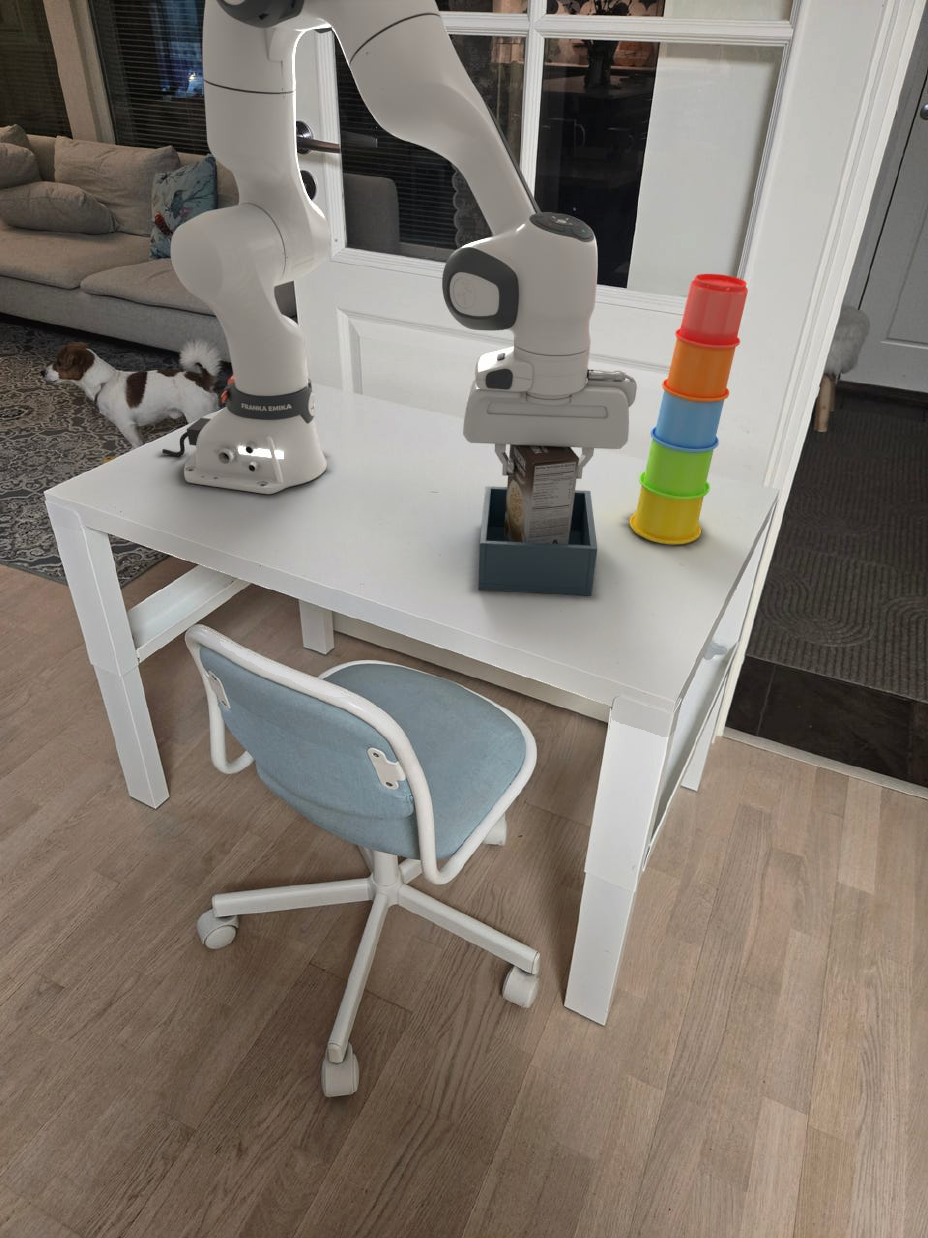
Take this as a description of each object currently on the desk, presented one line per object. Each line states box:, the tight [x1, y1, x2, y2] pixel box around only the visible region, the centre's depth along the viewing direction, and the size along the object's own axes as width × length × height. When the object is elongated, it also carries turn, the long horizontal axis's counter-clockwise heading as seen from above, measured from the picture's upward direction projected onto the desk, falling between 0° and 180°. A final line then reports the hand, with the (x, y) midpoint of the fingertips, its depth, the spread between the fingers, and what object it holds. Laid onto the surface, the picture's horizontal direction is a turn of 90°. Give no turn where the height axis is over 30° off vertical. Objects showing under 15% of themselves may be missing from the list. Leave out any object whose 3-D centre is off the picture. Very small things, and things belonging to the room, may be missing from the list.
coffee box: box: [504, 444, 580, 545], centre depth 107 cm, size 9×6×16 cm
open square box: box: [477, 485, 598, 596], centre depth 110 cm, size 15×16×7 cm
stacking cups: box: [629, 273, 749, 546], centre depth 109 cm, size 10×10×35 cm
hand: (541, 475), depth 104 cm, fingers closed on coffee box, 7 cm apart
